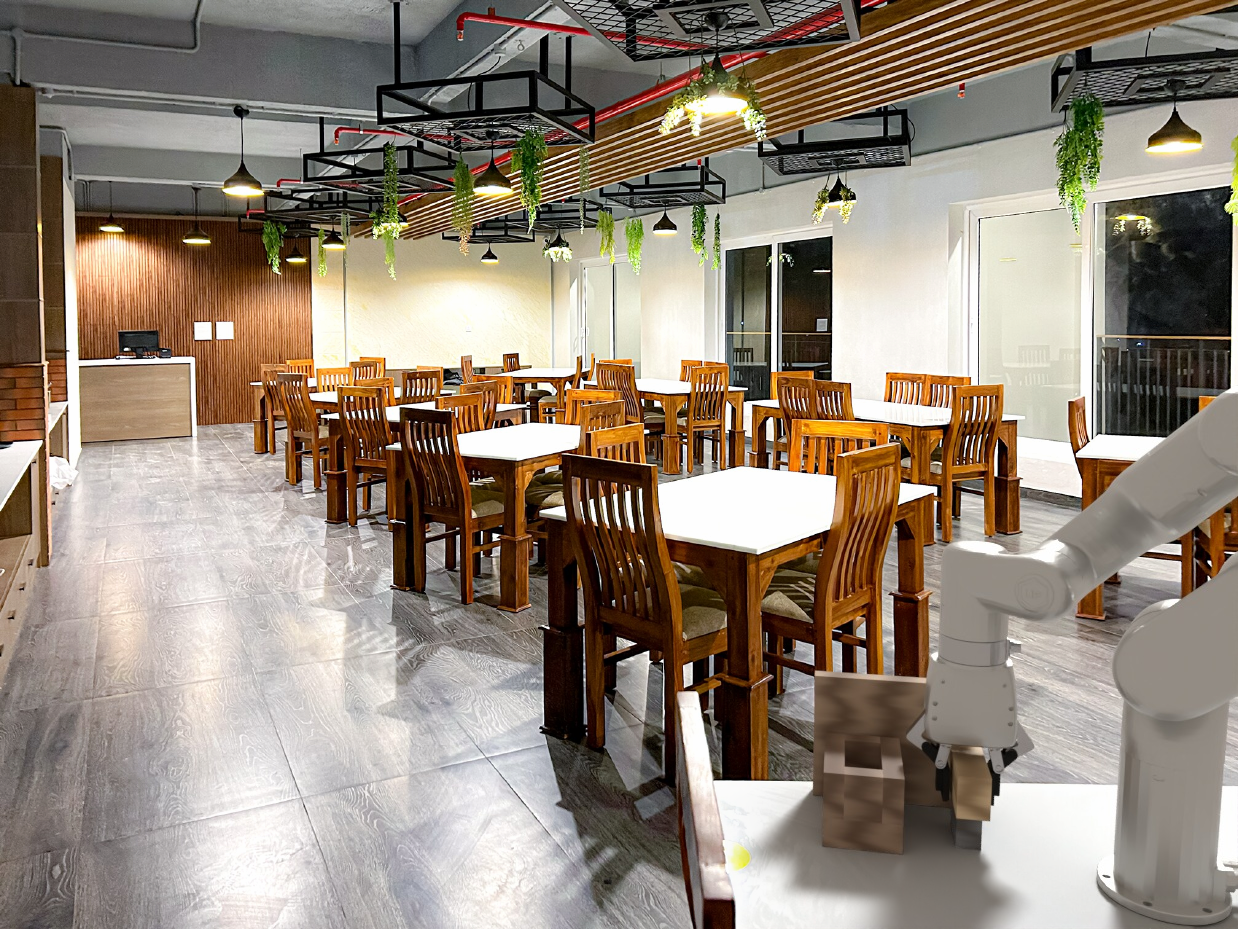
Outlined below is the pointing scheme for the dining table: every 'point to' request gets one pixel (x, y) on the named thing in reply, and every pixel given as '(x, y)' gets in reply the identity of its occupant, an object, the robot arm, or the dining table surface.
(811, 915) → the dining table surface
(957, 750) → the tan grey block
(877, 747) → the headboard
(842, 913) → the dining table surface
